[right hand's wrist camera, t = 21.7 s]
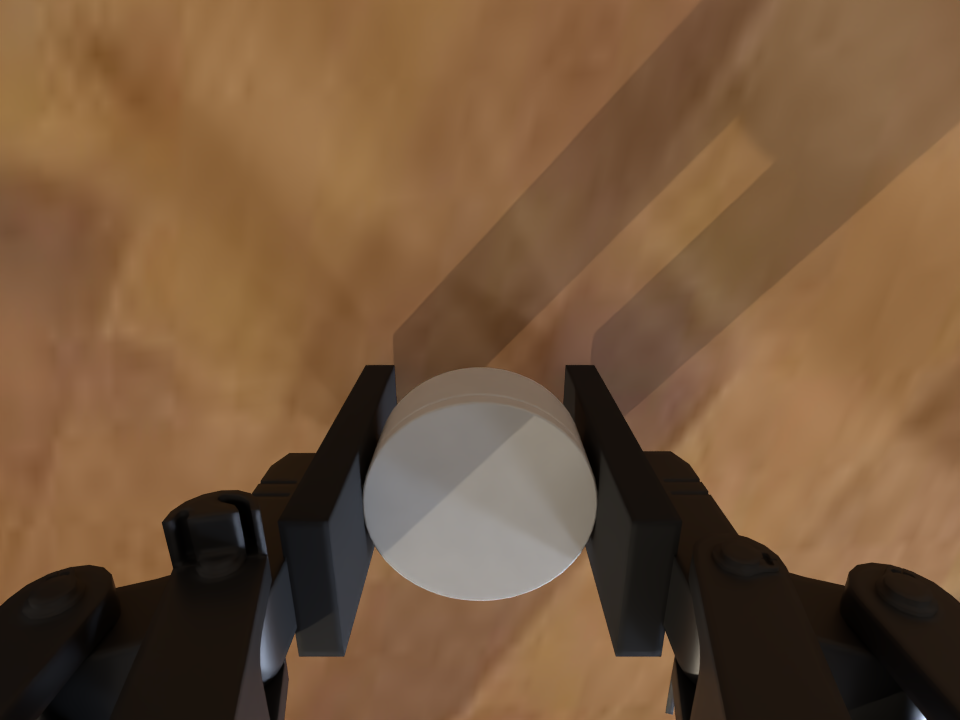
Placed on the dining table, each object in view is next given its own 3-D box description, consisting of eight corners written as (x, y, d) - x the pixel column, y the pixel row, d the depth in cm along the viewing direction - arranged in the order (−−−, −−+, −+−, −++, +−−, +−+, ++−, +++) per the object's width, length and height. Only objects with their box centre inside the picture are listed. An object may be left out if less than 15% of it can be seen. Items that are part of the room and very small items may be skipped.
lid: (485, 575, 13) (486, 635, 11) (337, 465, 12) (313, 515, 10) (624, 455, 12) (647, 503, 10) (473, 322, 11) (473, 352, 9)
